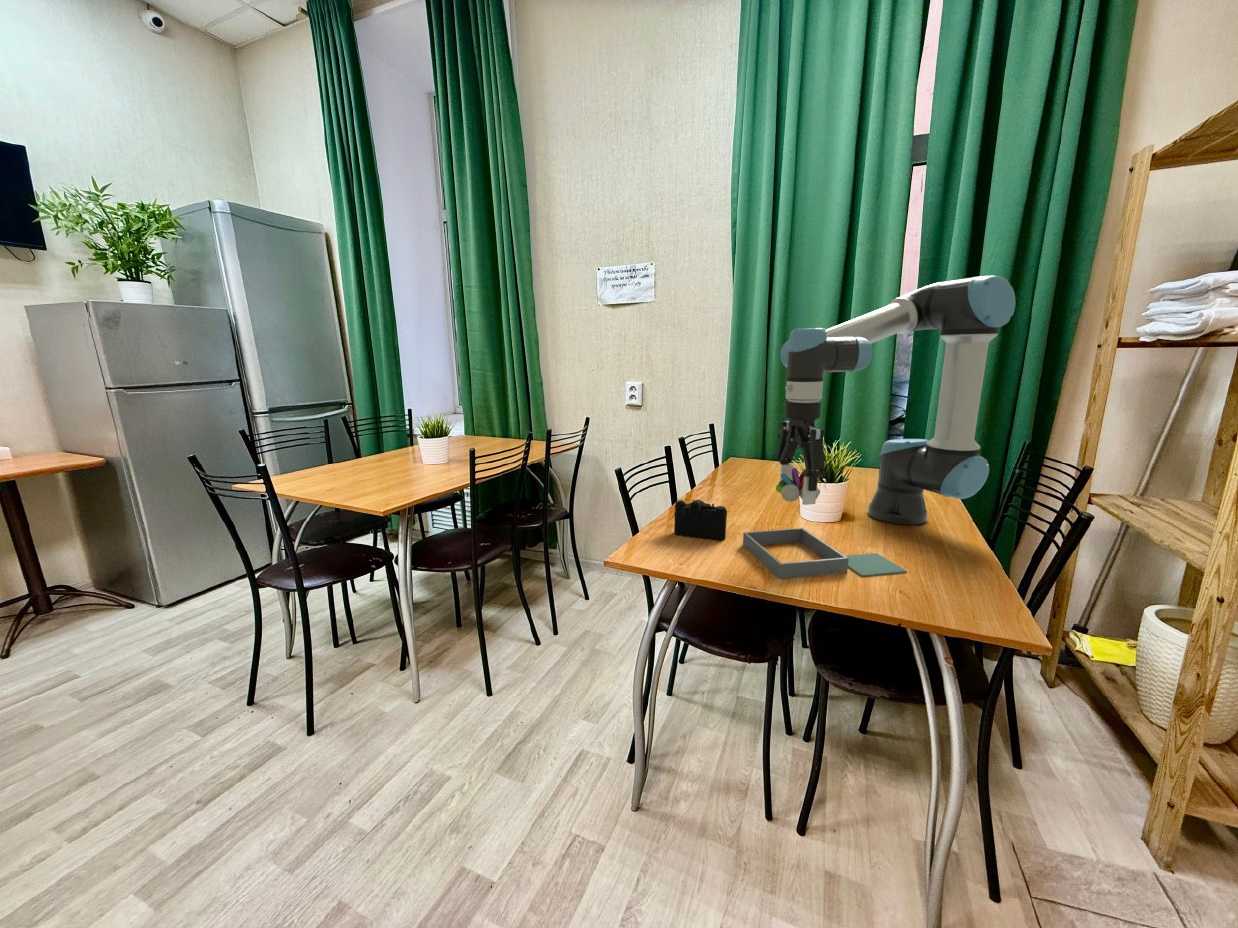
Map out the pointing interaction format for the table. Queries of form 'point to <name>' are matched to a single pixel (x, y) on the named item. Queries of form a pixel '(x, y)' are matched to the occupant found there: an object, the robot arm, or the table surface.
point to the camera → (700, 520)
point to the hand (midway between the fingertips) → (796, 497)
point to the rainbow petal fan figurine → (793, 486)
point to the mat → (872, 565)
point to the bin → (829, 565)
